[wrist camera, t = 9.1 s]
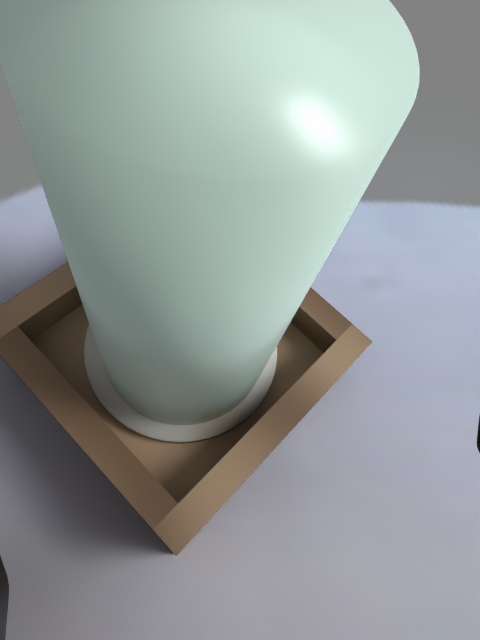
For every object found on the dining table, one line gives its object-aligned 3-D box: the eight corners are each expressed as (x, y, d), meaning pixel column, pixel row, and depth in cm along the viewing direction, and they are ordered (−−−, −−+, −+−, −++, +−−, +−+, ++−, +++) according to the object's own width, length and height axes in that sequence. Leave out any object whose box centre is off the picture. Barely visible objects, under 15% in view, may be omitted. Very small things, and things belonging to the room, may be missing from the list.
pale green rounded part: (225, 454, 16) (357, 259, 5) (69, 381, 16) (-122, 50, 5) (285, 314, 18) (451, -3, 8) (151, 255, 19) (133, -130, 8)
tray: (174, 554, 15) (176, 556, 13) (-2, 353, 18) (-28, 324, 15) (348, 365, 20) (372, 341, 17) (187, 220, 22) (190, 182, 19)
